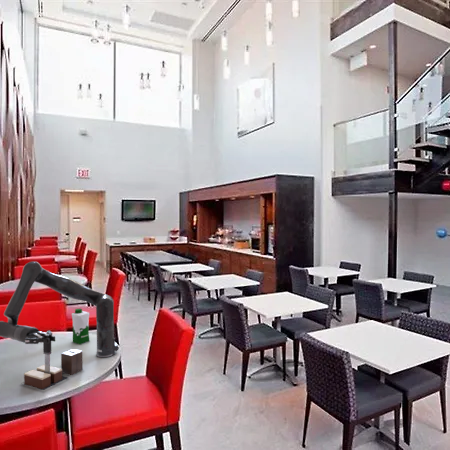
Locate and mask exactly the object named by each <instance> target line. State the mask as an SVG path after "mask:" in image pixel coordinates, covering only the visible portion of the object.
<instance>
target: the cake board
mask: <svg viewBox="0 0 450 450" xmlns="http://www.w3.org/2000/svg"><path fill="white" fill-rule="evenodd" d="M67 379H69V377H68V376H64V375H62V379H61V380H59V381H57V382H55V383H53V382H51V385H49V386H47V387H45V388H43V389H41V388H37V387H34V386H30V385H27V384H24V382H22V383H21V385H24V386H27V387H31V388H34V389H38V390H40V391H45V390H48V389H49V388H51V387H53V386H55V385H58V384H59V383H61V382H63V381H65V380H67Z"/></svg>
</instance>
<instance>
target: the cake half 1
mask: <svg viewBox="0 0 450 450" xmlns="http://www.w3.org/2000/svg"><path fill="white" fill-rule="evenodd" d="M23 380H24V381H23V383H24V384H27V385H30V386H29V387H31V386H34V387H37V388H41V389H43V388H45V387H47V386H49V385H51V374H48V373H44V372H40V371H37V369H31V370H29V371H26V372H24V373H23ZM24 384H23V385H24ZM27 385H26V386H27ZM34 387H33V388H34ZM37 388H36V389H37ZM41 389H40V390H41Z"/></svg>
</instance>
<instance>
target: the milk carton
mask: <svg viewBox="0 0 450 450" xmlns="http://www.w3.org/2000/svg"><path fill="white" fill-rule="evenodd" d="M71 319H72V343H75V344H77V345H82V344H85V343H88V342H90V331H89V330H90V329H89V328H90V324H89V323H90V322H89V320H90V312H89V311H84V310H83V309H82V308H75V309H74V312H73V313H71Z"/></svg>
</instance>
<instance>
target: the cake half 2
mask: <svg viewBox="0 0 450 450" xmlns="http://www.w3.org/2000/svg"><path fill="white" fill-rule="evenodd" d="M36 371H40V372H44V373H45V364H42V365H40V366H38V367H36ZM50 374H51V382H53V383H55V382H57V381H59V380H61V379H62V376H63V373H62V369H61V368H60V367H56V366H52V365H50Z"/></svg>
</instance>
